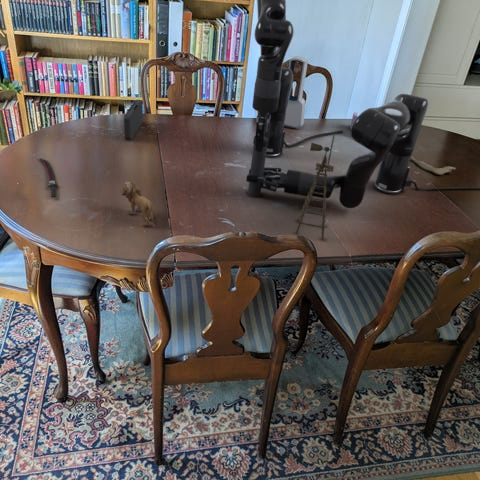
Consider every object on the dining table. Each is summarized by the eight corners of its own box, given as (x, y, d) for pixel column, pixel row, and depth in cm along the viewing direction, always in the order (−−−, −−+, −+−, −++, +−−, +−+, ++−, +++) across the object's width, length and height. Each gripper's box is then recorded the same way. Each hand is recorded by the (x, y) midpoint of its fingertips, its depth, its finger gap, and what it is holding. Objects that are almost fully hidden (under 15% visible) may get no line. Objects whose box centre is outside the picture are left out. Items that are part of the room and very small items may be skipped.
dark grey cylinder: (253, 198, 153) (260, 143, 142) (245, 192, 155) (251, 138, 145) (263, 195, 155) (270, 141, 145) (254, 189, 158) (261, 136, 147)
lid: (271, 145, 145) (271, 139, 144) (259, 147, 143) (260, 141, 142) (261, 140, 148) (262, 134, 147) (250, 142, 146) (250, 136, 145)
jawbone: (446, 180, 181) (448, 175, 179) (397, 163, 191) (398, 159, 190) (455, 172, 186) (456, 167, 185) (406, 156, 197) (407, 152, 195)
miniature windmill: (323, 240, 134) (345, 141, 118) (294, 234, 135) (312, 135, 119) (324, 224, 142) (346, 129, 126) (297, 219, 143) (314, 124, 127)
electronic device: (303, 125, 218) (315, 58, 202) (300, 130, 212) (311, 61, 196) (278, 120, 221) (287, 54, 205) (273, 125, 215) (283, 56, 199)
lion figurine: (118, 210, 138) (116, 182, 133) (132, 204, 141) (131, 177, 137) (151, 229, 130) (150, 201, 126) (165, 223, 134) (165, 195, 129)
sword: (61, 197, 141) (61, 193, 140) (50, 198, 139) (50, 194, 139) (49, 160, 164) (48, 156, 163) (39, 160, 163) (39, 157, 162)
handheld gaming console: (136, 121, 202) (136, 98, 197) (143, 121, 202) (142, 98, 197) (123, 140, 183) (122, 115, 178) (130, 141, 183) (130, 116, 178)
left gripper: (257, 85, 143) (251, 138, 153) (250, 97, 131) (244, 154, 141) (281, 89, 143) (274, 142, 152) (276, 101, 131) (268, 158, 140)
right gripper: (303, 163, 154) (252, 156, 156) (300, 181, 142) (245, 173, 144) (299, 184, 158) (250, 176, 160) (296, 203, 146) (243, 194, 148)
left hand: (259, 147), depth 146 cm, fingers closed on lid, 4 cm apart
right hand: (248, 174), depth 152 cm, fingers closed on dark grey cylinder, 4 cm apart
